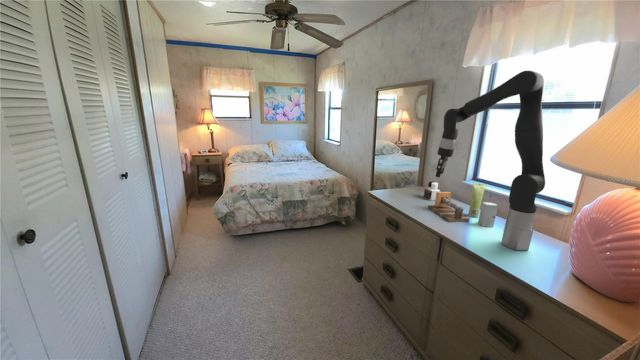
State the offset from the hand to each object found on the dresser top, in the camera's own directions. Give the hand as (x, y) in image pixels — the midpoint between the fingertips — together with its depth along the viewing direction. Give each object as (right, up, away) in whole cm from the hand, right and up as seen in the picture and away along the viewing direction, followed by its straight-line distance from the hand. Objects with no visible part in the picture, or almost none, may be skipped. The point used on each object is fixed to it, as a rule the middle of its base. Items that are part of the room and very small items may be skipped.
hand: (439, 175), depth 144 cm
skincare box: (+22, -27, -6) cm, 35 cm away
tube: (+23, -24, +6) cm, 34 cm away
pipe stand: (+8, -23, +8) cm, 26 cm away
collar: (+8, -18, +13) cm, 24 cm away
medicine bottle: (+11, -16, +36) cm, 41 cm away
